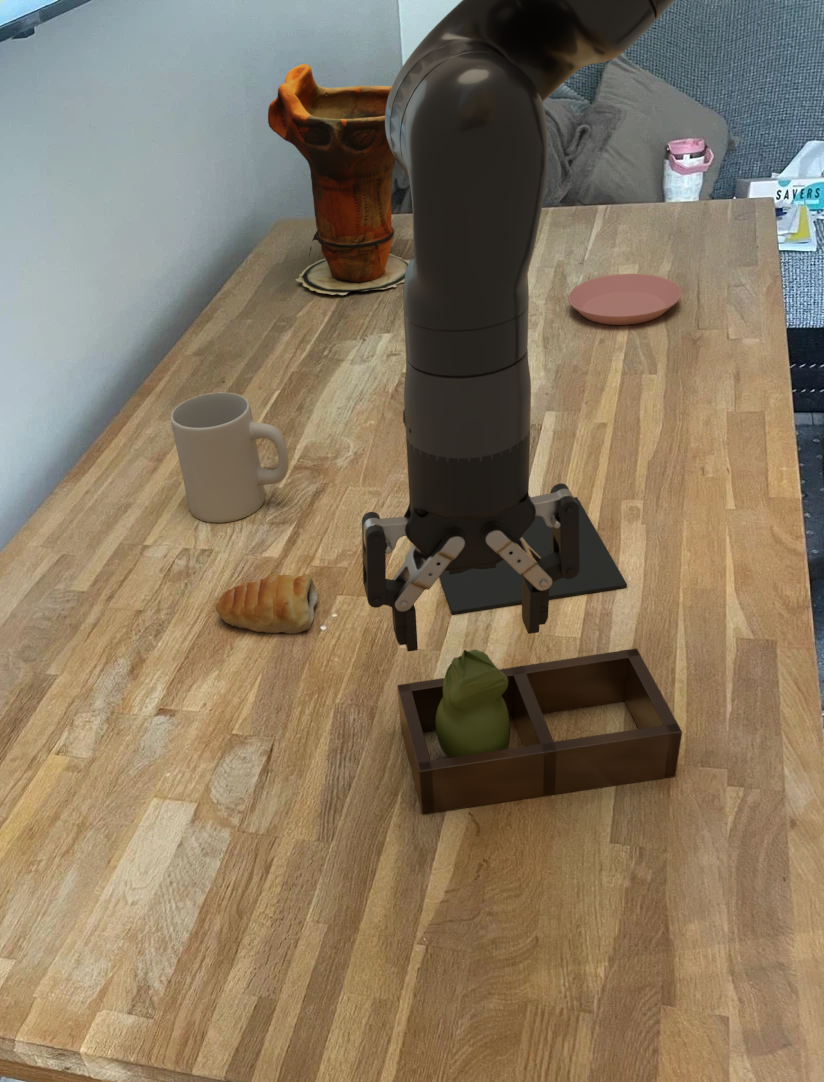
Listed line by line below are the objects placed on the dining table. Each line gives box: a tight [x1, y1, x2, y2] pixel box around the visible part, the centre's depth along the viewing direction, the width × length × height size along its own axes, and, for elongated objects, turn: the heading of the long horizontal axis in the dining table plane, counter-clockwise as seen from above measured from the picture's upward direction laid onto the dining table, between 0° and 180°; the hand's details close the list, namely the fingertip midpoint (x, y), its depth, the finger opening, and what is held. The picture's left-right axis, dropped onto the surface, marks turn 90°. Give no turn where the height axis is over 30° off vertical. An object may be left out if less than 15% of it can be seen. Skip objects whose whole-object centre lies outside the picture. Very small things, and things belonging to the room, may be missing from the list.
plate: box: [567, 273, 683, 326], centre depth 144 cm, size 14×14×2 cm
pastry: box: [215, 573, 319, 634], centre depth 102 cm, size 9×7×4 cm
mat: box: [438, 496, 628, 615], centre depth 105 cm, size 16×16×1 cm
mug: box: [170, 391, 289, 524], centre depth 116 cm, size 12×8×11 cm
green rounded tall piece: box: [435, 649, 511, 758], centre depth 82 cm, size 6×5×10 cm
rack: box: [396, 648, 683, 815], centre depth 83 cm, size 19×10×4 cm, turn 95°
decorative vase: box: [267, 63, 411, 296], centre depth 157 cm, size 21×23×28 cm
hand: (470, 635), depth 77 cm, fingers open, 8 cm apart
